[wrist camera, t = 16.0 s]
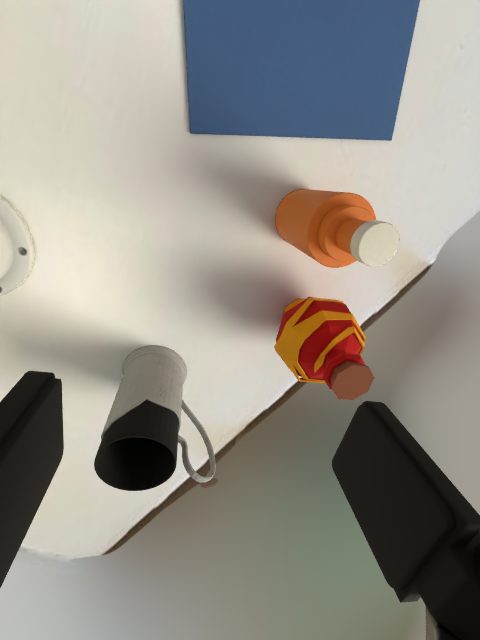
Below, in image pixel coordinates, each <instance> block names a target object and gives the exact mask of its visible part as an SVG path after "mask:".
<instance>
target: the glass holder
mask: <svg viewBox="0 0 480 640" xmlns="http://www.w3.org/2000/svg"><path fill="white" fill-rule="evenodd" d="M186 374H187V370H186V365H185V363H184V361H183V359H182V358H181V357H180V356H179V355H178V354H177V353H176V352H174V351H173V350H171V349H169V348H166V347H162V346H146V347H142V348H139V349H137V350H135V351H134V352H132V353H131V354H130V355H129V356H128V357H127V359H126V360H125V362H124V365H123V378H122V380H121V383H120V386H119V389H118V391H117V394H116V397H115V400H114V402H113V405H112V408H111V411H110V413H109V416H108V419H107V422H106V424H105V427H104V430H103V433H102V435H101V439H102V441H101V444H100V446H99V449H98V452H97V455H96V458H95V462H94V467H95V471H96V473H97V475H98V476H99V478H100V479H101V480H103V481H104V482H105V483H107V484H108V485H110V486H112V487H115V488H118V489H121V490H127V491H141V490H147V489H151V488H154V487H156V486H159V485H161V484H162V483H164V482H165V481H167V480H168V479H169V478H170V477H171V476H172V474H173V473H174V471H175V468H176V461H177V445H178V442H179V443H180V444H181V446H182V458H183V464H184V467H185V469H186V471H187V473H188V474H189V475H190V476H191V477H192V478H193V479H194V480H196V481H198V482H207V481H209V480H211V479H212V478H213V476H214V474H215V466H216V464H215V457H214V452H213V449H212V445H211V443H210V440H209V438H208V436H207V434H206V431H205V430H204V428H203V427H202V425H201V424H200V422H199V421H198V420H197V418H196V417H195V416H194V414H193V413H192V412H191V411H190V409H189V408H188V407H187V405H186V404H185V403H184V401H183V400H182V388H183V383H184V381H185V379H186ZM181 408H182V409H183V410H184V412H185V413H186V414H187V415H188V417H189V418H190V419H191V421H192V422H193V423H194V425H195V426H196V427H197V429H198V431H199V432H200V434H201V436H202V438H203V440H204V442H205V445H206V447H207V450H208V454H209V459H210V467H211V469H210V476H209V477H203V476H200V475H199V474H197V473H196V472H195V471H194V469H193V468H192V466H191V464H190V462H189V459H188V448H187V443H186V441H185V440H184V439H183V438H182V437H181V436H179V435H178V432H179V429H180V423H181Z"/></svg>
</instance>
